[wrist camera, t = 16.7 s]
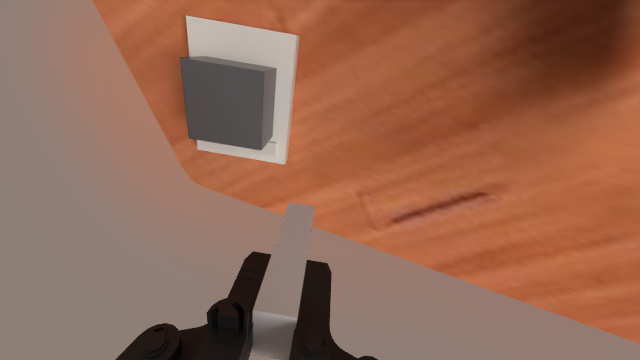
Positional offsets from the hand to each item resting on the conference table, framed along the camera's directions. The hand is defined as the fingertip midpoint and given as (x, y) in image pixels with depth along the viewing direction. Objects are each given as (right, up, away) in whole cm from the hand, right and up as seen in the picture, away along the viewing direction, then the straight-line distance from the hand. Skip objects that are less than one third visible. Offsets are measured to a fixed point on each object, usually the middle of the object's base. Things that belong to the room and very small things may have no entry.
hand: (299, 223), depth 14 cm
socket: (-10, +15, +23) cm, 29 cm away
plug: (-10, +15, +22) cm, 29 cm away
